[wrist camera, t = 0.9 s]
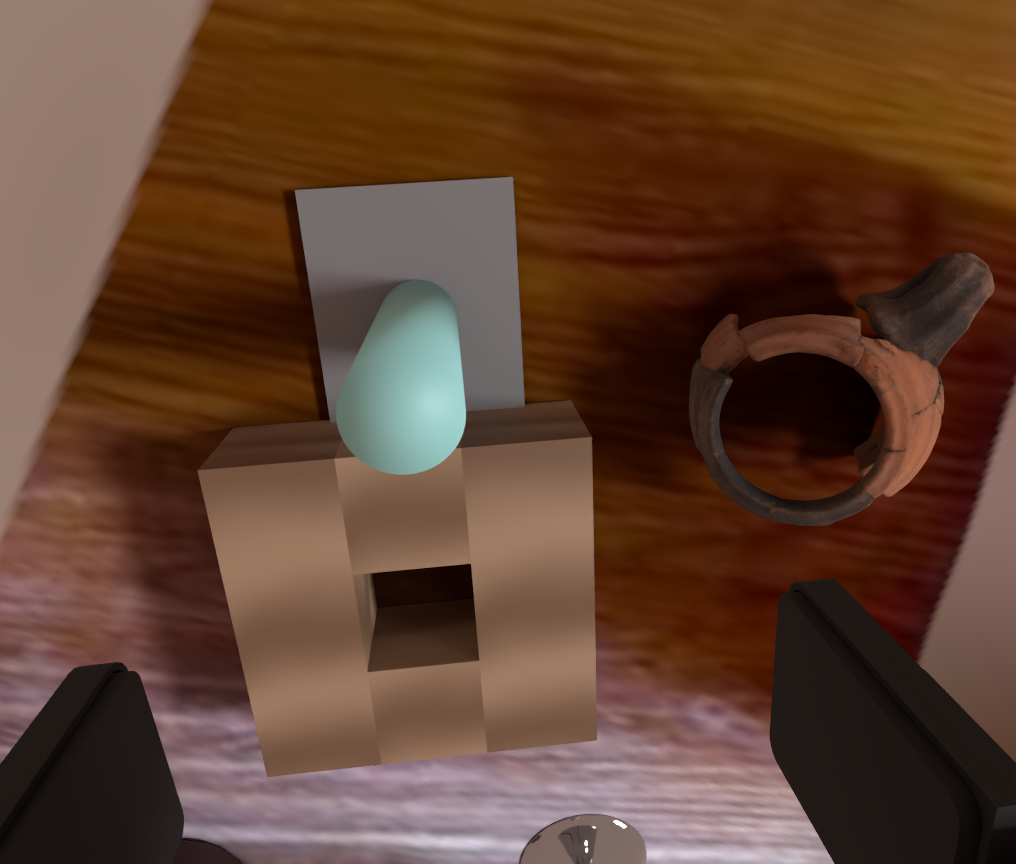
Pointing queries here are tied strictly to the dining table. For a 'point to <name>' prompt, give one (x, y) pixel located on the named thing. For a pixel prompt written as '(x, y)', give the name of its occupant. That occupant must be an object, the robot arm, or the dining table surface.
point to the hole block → (417, 627)
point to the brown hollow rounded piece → (882, 363)
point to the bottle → (202, 854)
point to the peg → (406, 384)
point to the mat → (418, 273)
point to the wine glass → (586, 842)
